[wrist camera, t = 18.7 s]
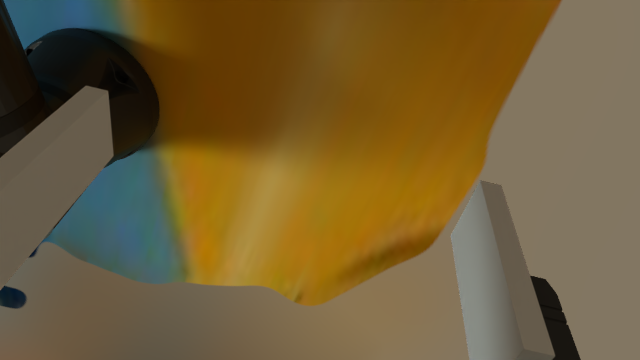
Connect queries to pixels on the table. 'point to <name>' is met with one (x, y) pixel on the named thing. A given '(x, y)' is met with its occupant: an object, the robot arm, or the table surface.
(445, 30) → the table surface
